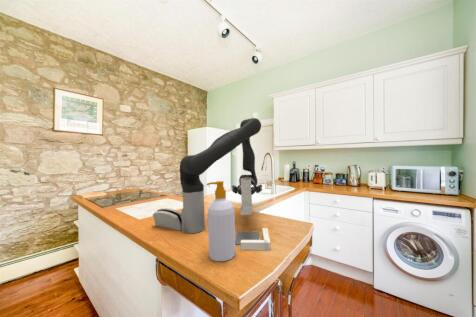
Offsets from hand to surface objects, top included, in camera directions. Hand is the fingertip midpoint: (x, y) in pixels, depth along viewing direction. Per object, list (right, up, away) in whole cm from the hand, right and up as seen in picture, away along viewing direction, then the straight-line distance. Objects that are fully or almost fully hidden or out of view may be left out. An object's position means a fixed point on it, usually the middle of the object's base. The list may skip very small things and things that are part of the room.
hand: (246, 192), depth 69 cm
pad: (+1, -18, 0) cm, 18 cm away
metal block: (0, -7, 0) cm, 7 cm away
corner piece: (+3, -18, -3) cm, 18 cm away
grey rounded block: (-35, -19, +14) cm, 42 cm away
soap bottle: (-9, -18, -12) cm, 23 cm away
